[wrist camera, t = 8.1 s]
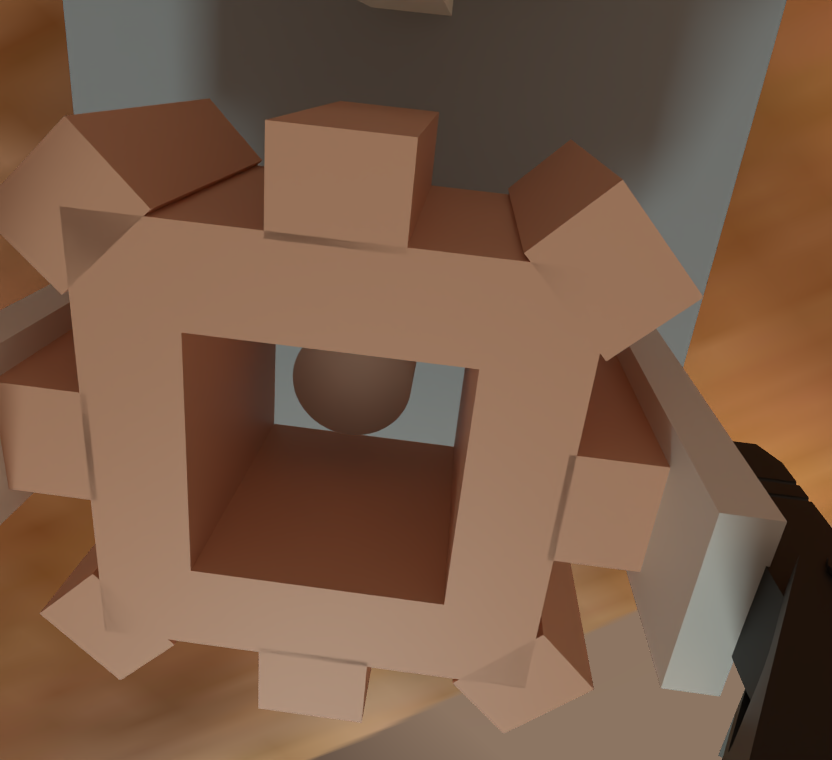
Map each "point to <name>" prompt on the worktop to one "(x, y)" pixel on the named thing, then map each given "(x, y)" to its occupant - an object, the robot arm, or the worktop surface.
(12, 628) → the worktop surface
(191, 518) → the rust gear
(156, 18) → the gear board
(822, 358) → the worktop surface
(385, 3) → the cream gear
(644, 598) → the robot arm
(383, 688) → the worktop surface
